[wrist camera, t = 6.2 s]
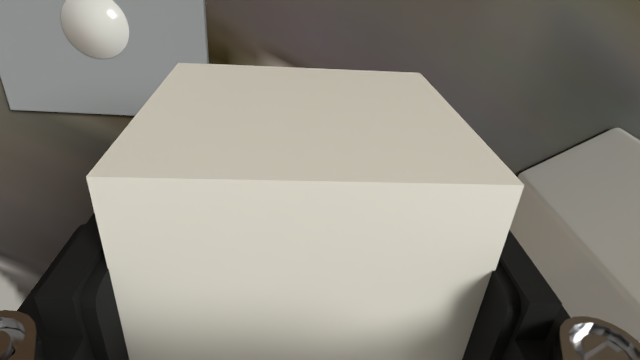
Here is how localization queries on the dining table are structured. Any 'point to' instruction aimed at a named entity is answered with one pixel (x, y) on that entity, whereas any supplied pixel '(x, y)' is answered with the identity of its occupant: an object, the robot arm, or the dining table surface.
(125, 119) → the dining table surface
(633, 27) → the dining table surface
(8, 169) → the dining table surface
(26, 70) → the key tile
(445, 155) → the white cube
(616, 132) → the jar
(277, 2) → the dining table surface
